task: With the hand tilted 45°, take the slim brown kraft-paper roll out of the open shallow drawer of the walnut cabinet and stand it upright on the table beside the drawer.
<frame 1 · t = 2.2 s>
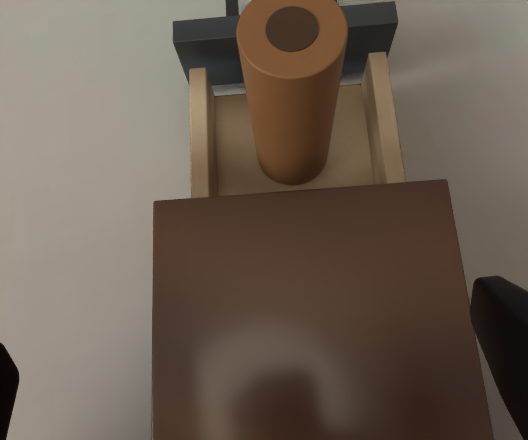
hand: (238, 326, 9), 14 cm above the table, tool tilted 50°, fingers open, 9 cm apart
paper roll: (292, 152, 23), point 2 cm above the table, touching drawer
cabinet: (308, 367, 22), on the table
drawer: (289, 109, 23), point 3 cm above the table, slide at 8.0 cm, touching paper roll
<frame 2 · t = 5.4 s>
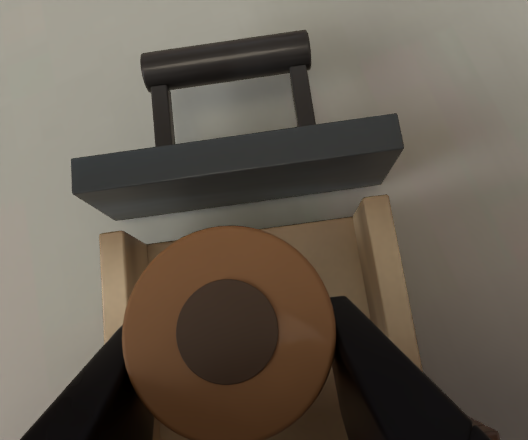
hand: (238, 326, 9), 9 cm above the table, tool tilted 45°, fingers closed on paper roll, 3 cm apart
paper roll: (261, 329, 16), point 2 cm above the table, touching drawer, gripper
drawer: (252, 271, 16), point 3 cm above the table, slide at 8.0 cm, touching paper roll
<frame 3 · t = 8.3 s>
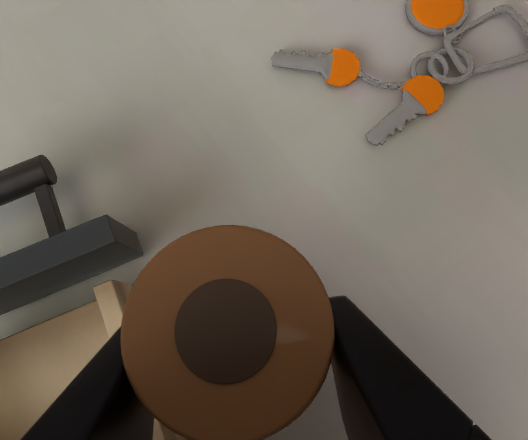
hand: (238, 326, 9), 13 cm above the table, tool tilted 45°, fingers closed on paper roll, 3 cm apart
paper roll: (260, 329, 16), point 6 cm above the table, touching gripper
key chain: (404, 63, 25), on the table
drawer: (36, 361, 20), point 3 cm above the table, slide at 8.0 cm
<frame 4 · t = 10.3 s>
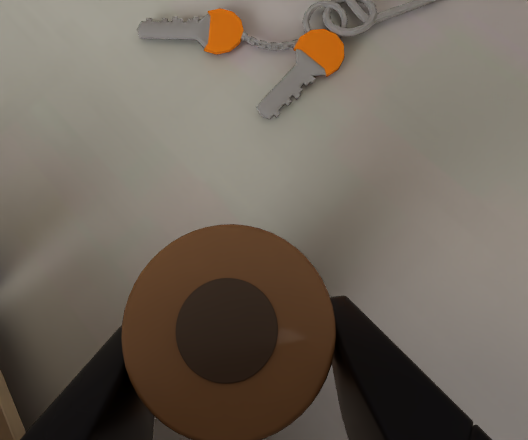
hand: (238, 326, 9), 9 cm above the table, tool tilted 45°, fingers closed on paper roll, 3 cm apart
paper roll: (260, 329, 16), point 2 cm above the table, touching gripper
key chain: (297, 19, 21), on the table
when the fingers open (7 cm above the table, at t = 11.2 s): paper roll stays where it is, on the table.
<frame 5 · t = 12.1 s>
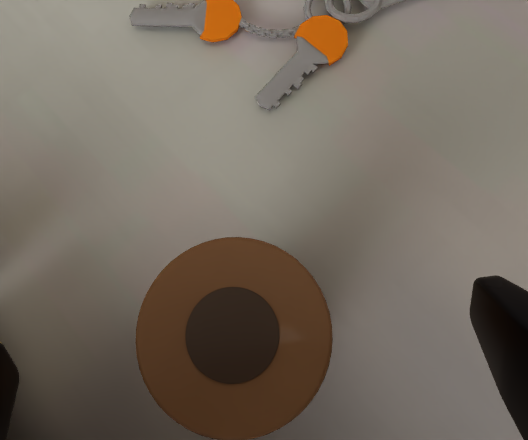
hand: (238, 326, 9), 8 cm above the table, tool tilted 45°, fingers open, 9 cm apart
paper roll: (262, 331, 17), on the table
key chain: (298, 6, 20), on the table
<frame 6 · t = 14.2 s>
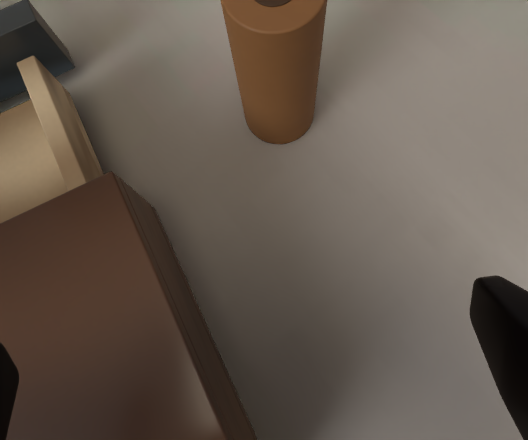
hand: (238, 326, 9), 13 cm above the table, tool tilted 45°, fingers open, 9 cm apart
paper roll: (279, 112, 23), on the table
cabinet: (94, 398, 21), on the table
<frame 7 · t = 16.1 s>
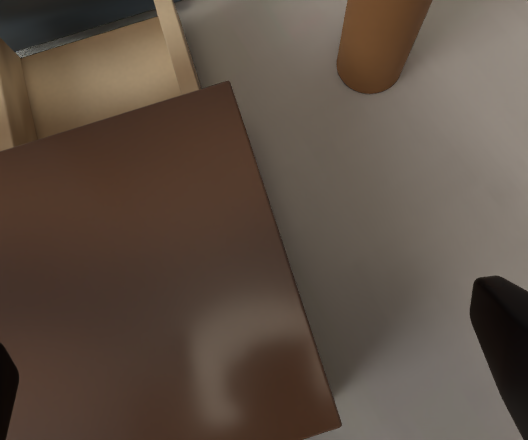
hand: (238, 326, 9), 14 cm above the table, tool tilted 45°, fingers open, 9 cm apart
paper roll: (368, 64, 25), on the table
cabinet: (168, 295, 23), on the table
drawer: (91, 53, 23), point 3 cm above the table, slide at 8.0 cm
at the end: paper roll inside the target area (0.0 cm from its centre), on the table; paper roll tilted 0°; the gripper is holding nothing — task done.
